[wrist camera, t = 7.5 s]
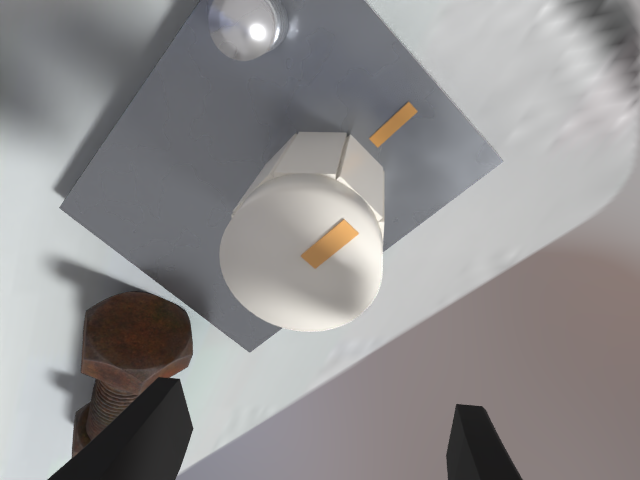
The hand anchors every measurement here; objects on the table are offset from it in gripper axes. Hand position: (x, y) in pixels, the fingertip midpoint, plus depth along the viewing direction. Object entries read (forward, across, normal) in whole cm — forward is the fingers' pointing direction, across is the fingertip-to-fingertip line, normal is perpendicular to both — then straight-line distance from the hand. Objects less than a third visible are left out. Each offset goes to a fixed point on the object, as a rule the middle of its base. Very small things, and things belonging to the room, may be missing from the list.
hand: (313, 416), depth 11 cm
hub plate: (+10, +4, -2) cm, 11 cm away
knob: (+9, +1, -2) cm, 10 cm away
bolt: (+11, +14, +12) cm, 21 cm away
